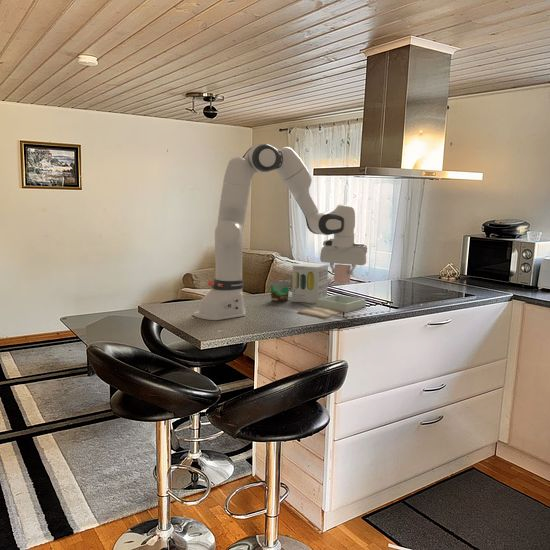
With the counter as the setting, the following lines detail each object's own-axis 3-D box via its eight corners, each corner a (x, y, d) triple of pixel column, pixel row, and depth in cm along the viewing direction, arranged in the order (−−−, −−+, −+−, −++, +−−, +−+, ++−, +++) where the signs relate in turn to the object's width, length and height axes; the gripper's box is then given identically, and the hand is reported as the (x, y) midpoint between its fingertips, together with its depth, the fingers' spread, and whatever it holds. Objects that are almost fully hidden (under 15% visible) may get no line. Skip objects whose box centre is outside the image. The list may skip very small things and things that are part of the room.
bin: (346, 313, 215) (346, 304, 214) (317, 307, 225) (317, 298, 224) (365, 307, 226) (365, 299, 226) (336, 302, 236) (337, 294, 236)
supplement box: (290, 302, 236) (291, 264, 233) (301, 297, 248) (302, 261, 245) (317, 305, 230) (318, 267, 227) (327, 300, 242) (328, 263, 239)
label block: (342, 284, 220) (343, 265, 219) (333, 282, 224) (334, 264, 222) (349, 283, 224) (350, 265, 222) (340, 281, 227) (341, 263, 226)
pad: (324, 318, 204) (324, 316, 204) (297, 313, 213) (297, 311, 213) (343, 313, 215) (343, 311, 214) (317, 308, 224) (317, 306, 223)
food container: (280, 303, 231) (280, 282, 230) (269, 301, 235) (269, 280, 233) (295, 299, 241) (296, 279, 239) (285, 298, 245) (285, 277, 243)
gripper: (368, 243, 220) (367, 274, 222) (323, 240, 228) (322, 271, 230) (365, 244, 214) (363, 276, 216) (319, 241, 222) (318, 272, 224)
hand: (342, 273), depth 223 cm, fingers closed on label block, 6 cm apart
